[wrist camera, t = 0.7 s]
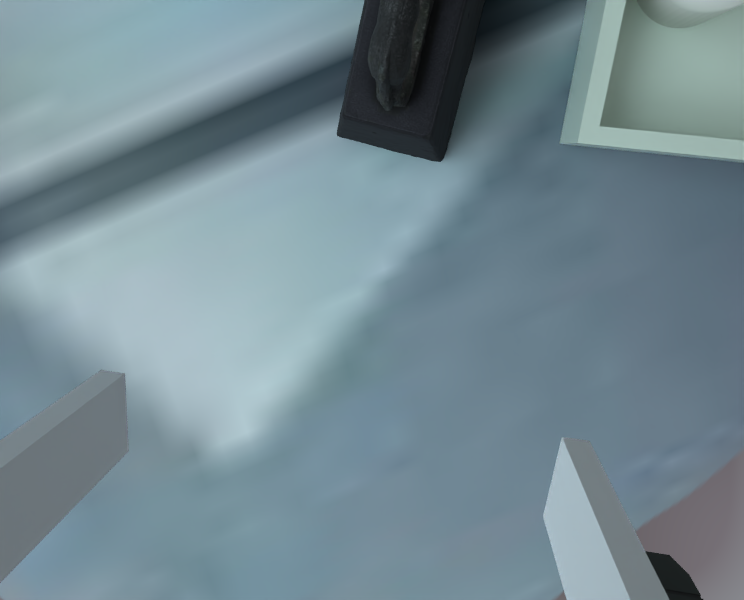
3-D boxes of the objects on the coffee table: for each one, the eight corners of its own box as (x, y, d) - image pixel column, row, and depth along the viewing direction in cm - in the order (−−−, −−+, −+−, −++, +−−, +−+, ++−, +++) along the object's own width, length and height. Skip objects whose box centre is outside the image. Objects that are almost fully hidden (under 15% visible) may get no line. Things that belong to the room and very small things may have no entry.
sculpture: (511, -53, 32) (574, -219, 18) (441, 167, 36) (446, 179, 21) (384, -90, 32) (345, -284, 18) (329, 133, 36) (259, 122, 22)
